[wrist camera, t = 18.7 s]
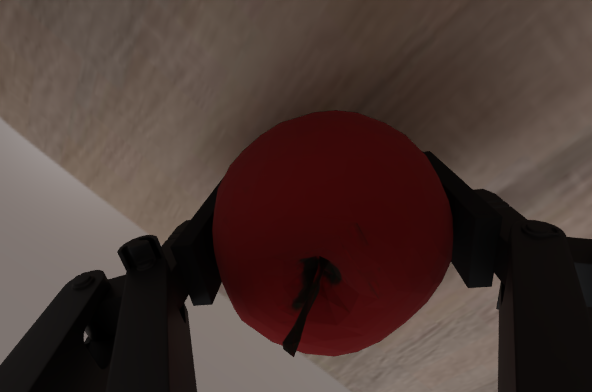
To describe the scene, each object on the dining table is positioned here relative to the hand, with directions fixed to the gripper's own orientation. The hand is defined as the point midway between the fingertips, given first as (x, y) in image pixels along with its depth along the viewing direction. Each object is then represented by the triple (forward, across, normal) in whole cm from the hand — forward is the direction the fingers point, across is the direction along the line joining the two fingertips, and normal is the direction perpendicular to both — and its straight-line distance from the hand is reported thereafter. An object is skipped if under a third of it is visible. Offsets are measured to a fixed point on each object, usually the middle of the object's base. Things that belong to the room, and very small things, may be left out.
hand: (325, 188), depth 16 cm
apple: (0, 0, 0) cm, 1 cm away
